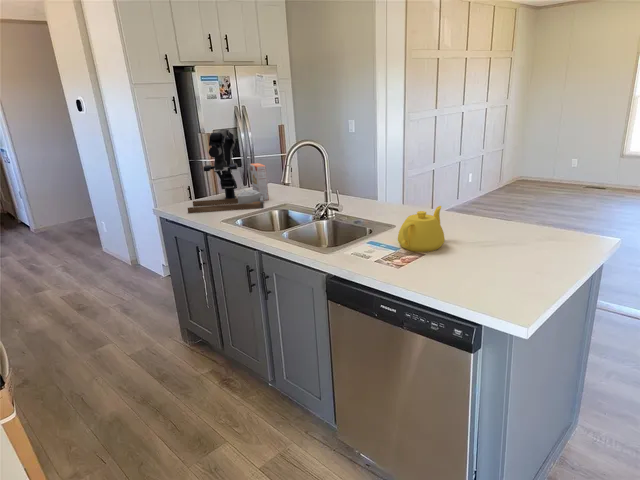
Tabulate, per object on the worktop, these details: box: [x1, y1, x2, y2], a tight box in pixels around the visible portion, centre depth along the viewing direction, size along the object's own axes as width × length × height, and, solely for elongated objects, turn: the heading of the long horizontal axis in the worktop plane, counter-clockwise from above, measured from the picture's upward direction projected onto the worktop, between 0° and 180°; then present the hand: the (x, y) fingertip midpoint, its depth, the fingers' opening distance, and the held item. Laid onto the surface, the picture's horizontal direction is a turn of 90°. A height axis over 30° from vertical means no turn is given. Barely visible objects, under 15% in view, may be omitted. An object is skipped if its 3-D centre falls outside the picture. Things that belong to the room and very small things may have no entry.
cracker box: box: [249, 162, 270, 202], centre depth 259 cm, size 14×6×21 cm, turn 25°
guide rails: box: [187, 195, 265, 214], centre depth 245 cm, size 17×41×4 cm, turn 96°
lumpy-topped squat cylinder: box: [237, 189, 260, 204], centre depth 245 cm, size 10×13×9 cm
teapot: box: [397, 205, 445, 253], centre depth 167 cm, size 25×18×14 cm
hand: (222, 182), depth 250 cm, fingers closed
